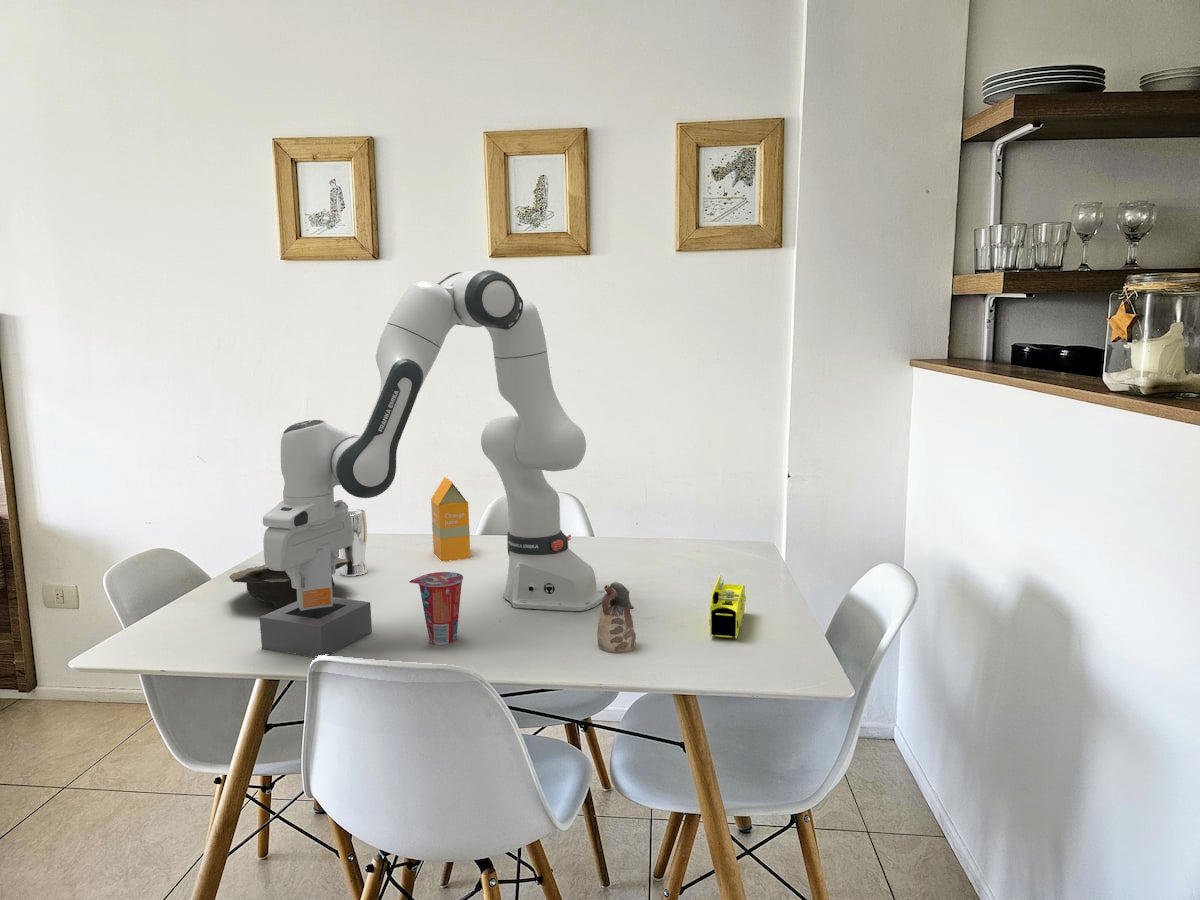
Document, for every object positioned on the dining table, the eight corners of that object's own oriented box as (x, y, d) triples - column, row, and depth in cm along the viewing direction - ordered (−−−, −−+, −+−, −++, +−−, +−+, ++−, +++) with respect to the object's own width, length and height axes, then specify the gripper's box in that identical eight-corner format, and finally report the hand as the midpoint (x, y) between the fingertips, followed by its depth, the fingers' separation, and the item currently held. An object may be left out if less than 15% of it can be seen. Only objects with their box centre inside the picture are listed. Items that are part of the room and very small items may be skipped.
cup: (450, 628, 162) (447, 568, 160) (474, 639, 156) (471, 578, 154) (407, 640, 156) (404, 578, 154) (430, 653, 150) (427, 589, 148)
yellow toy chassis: (717, 611, 170) (718, 572, 168) (746, 613, 168) (746, 574, 167) (707, 640, 154) (707, 597, 153) (738, 642, 153) (738, 599, 152)
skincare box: (300, 612, 153) (295, 548, 151) (297, 605, 156) (293, 543, 155) (334, 606, 155) (330, 544, 154) (330, 600, 159) (326, 539, 157)
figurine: (644, 647, 151) (643, 583, 149) (611, 656, 147) (610, 591, 145) (621, 635, 157) (621, 574, 155) (590, 643, 153) (588, 581, 151)
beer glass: (364, 577, 196) (360, 515, 194) (335, 577, 197) (331, 515, 194) (373, 568, 203) (369, 508, 201) (344, 568, 204) (341, 509, 201)
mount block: (371, 632, 161) (370, 602, 160) (322, 658, 148) (320, 626, 147) (314, 623, 166) (312, 594, 165) (261, 648, 153) (259, 617, 152)
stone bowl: (307, 621, 167) (300, 576, 165) (206, 619, 174) (199, 576, 173) (374, 583, 190) (369, 543, 189) (283, 582, 198) (277, 545, 196)
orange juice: (462, 549, 219) (459, 475, 217) (470, 558, 211) (467, 481, 209) (432, 553, 216) (429, 478, 213) (440, 562, 208) (437, 483, 205)
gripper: (333, 496, 164) (337, 564, 166) (255, 519, 145) (260, 595, 147) (359, 498, 162) (363, 567, 164) (283, 521, 143) (288, 599, 145)
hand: (314, 581), depth 155 cm, fingers closed on skincare box, 7 cm apart
